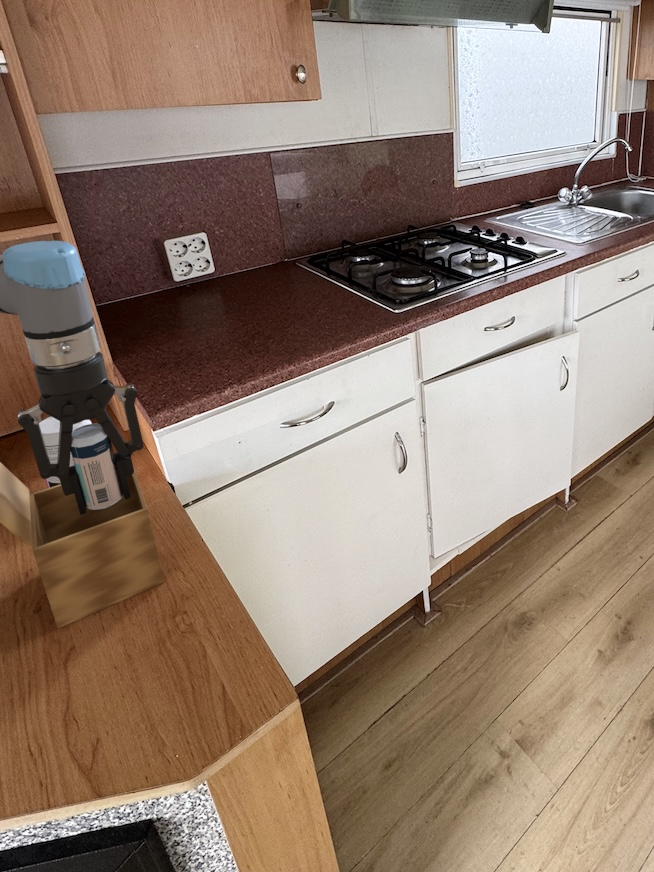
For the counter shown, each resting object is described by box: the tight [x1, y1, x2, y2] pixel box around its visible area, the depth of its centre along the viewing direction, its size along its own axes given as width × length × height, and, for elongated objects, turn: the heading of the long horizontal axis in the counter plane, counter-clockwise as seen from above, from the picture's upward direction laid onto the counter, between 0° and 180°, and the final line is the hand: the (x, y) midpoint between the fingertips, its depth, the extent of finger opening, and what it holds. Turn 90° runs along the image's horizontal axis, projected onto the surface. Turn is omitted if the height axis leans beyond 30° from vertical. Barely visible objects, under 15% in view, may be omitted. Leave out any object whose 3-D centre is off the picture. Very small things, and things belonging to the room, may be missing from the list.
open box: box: [29, 465, 165, 629], centre depth 86 cm, size 13×14×14 cm
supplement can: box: [39, 416, 93, 488], centre depth 102 cm, size 8×8×15 cm
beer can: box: [71, 423, 124, 510], centre depth 83 cm, size 5×5×12 cm
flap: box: [0, 461, 32, 548], centre depth 78 cm, size 6×14×1 cm
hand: (105, 500), depth 85 cm, fingers closed on beer can, 5 cm apart
